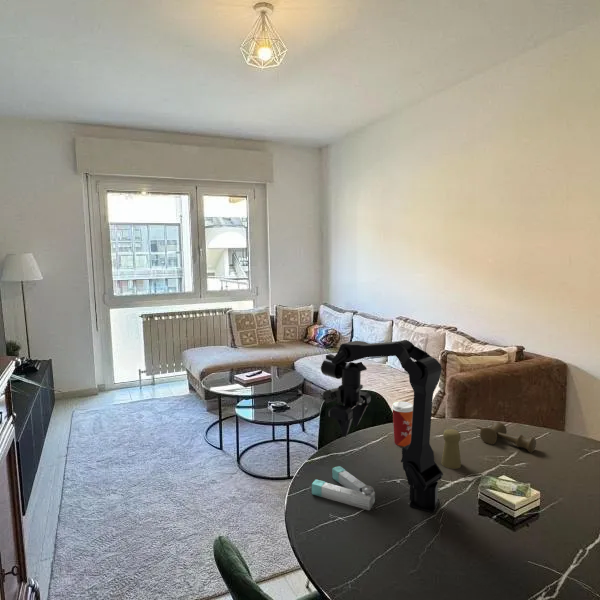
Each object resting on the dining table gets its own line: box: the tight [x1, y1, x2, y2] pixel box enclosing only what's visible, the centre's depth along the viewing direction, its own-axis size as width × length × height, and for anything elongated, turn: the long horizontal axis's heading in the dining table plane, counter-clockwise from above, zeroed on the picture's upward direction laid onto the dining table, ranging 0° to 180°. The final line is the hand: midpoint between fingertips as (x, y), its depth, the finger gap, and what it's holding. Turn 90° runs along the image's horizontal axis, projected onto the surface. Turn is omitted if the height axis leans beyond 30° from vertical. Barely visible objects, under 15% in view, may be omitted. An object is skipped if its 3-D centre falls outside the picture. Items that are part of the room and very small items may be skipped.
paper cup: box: [391, 401, 413, 447], centre depth 156 cm, size 8×8×14 cm
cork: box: [440, 428, 462, 470], centre depth 140 cm, size 6×6×11 cm
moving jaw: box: [331, 465, 368, 492], centre depth 129 cm, size 13×3×3 cm, turn 31°
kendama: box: [476, 421, 537, 453], centre depth 155 cm, size 6×10×20 cm
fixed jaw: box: [311, 478, 376, 511], centre depth 123 cm, size 17×6×4 cm, turn 61°
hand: (350, 431), depth 138 cm, fingers open, 8 cm apart
